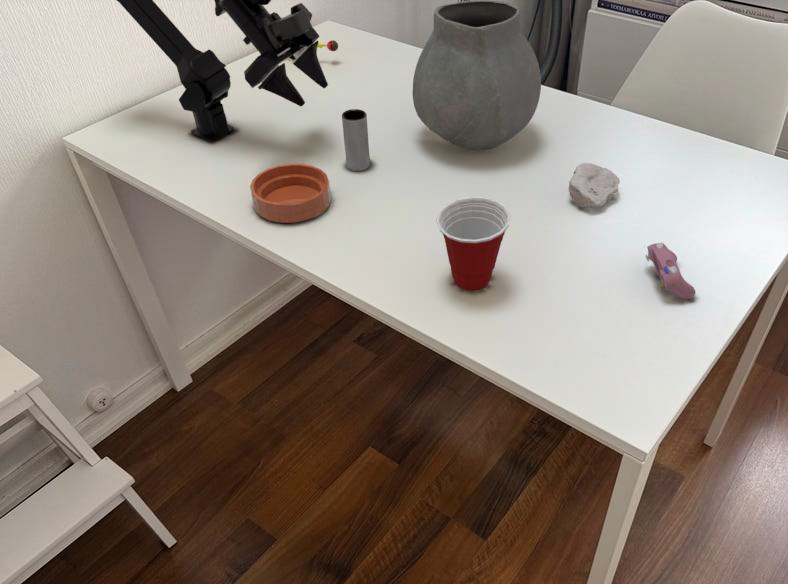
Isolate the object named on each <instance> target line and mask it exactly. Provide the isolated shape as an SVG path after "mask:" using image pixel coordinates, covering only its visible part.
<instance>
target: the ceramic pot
mask: <svg viewBox="0 0 788 584" xmlns="http://www.w3.org/2000/svg"><path fill="white" fill-rule="evenodd" d="M412 79H413V80H412V92H411V93H412V101H413V107H414V109H415V112H416V115H417V116H418V118H419V119H420V121H421V122H422V123H423V125H425V127H427V128H428V129H429V130H430V131H431V132H433V133H434V134H435V135H437V136H439V137H440V138H441V139H443V140H445V141H446V142H448V143H449V144H450V145H452V146H455V147H458V148H461V149H465V150H469V151H487V150H492V149H495V148H498V147H500V146H502V145H503V144H505V143H506V142H508V141H510V140H511V139H513V138H514V137H515V136H517V135H518V134H519V133H520V132H521V131H523V130H524V129H525V128H526V127H527V126H528V124H530V122H531V120H532V119H533V117H534V115H535V113H536V110H537V108H538V106H539V102H540V98H541V96H540V95H541V90H542V77H541V70H540V64H539V61H538V58H537V56H536V54H535V51H534V49H533V47H532V45H531V43H530V42H529V41H528V39H527V38H526V37H525V35H524V33H523V32H522V30H521V12H520V8H518V6H516V5H515V4H513V3H510V2H506V1H501V0H461V1H456V2H454V3H453V2H452V3H448V4H442V5H439V6H437V7H436V8H435V9H434V12H433V30H432V32H431V34H430V36H429V38H428V39H427V41H426V42H425V45H424V47H423V49H422V51H421V52H420V55H419V57H418V60H417V62H416V65H415V69H414V73H413V78H412Z"/></svg>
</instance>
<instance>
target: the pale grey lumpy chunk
mask: <svg viewBox="0 0 788 584" xmlns="http://www.w3.org/2000/svg"><path fill="white" fill-rule="evenodd" d="M568 182H569V183H568V194H569V196H570V198H571V200H572V201H573V202H574V203H575V204H576V205H578V206H580V207H582V208H589V209H590V208H599V207H603V206H604V205H606V203H607V202H609V201H610V200H612V199H613V198H614V194H616V193H618V191H619V184H620V182H621V180H620V178H619V177H618V175H616V174H615V173H614V172H613V171H612V170H610V169H608V168H607V167H602V166H600V165H596V164H595V163H591V162H583V163H580V164H578V165H577V166H576V167H575V170H574V171H573V175H572V177H571V179H570V180H569V181H568Z"/></svg>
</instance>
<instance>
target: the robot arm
mask: <svg viewBox="0 0 788 584" xmlns="http://www.w3.org/2000/svg"><path fill="white" fill-rule="evenodd" d="M116 1H117V3H119V4H120V5H121V7H123V8H124V10H125V11H126V12H127V13H128V14H129V15H130V16H131V17H132V19H133V20H134V21H135V22H136V23H137V24H138V25H139V27H140V28H142V30H143V31H144V32H145V33H146V34H147V35H148V36H149V38H150V39H151V40H152V41H153V42H154V43H155V44H156V45H157V46H158V48H159V49H160V50H161V51H162V52H163V53H164V54H165V55H166V56H167V58H169V60H170V61H171V62H172V64H174V65H175V67H176V70H177V73H178V78H179V82H180V83H181V85H182V86H183V88H184V89H185V90H184V91H183V93H182V94H181V96H180V97H179V98H178V101H179V104H180V105H181V107H182V109H183V111H187V112H191V113H192V115H193V120H194V123H195V126H196V127H195V128H194V129H191V130H190V132H191V134H192V135H194V136H196V137H199V138H201V139H203V140H205V141H208V142H211V143H212V142H215V141H218V140H219V139H221V138H223V137H225V136H227V135H229V134H231V133H233V132H235V127H234V126H231V125H229V124H228V120H227V114H226V113H225V108H224V105H223V103H222V101H223V100H224V99H226V98H228V96H229V90H230V88H231V84H232V83H231V75H230V73H229V71H228V70H227V69H226V67H227V65H226V64H225V63H223V62H222V61H221V60H220V59H219V57H218V56H217V55H216V53H215V52H214V51H213V50H211V49H210V48H209V49H207V50H205V51H201V50H200V49H197V48H196V47H194V45H193V44H192V43H191V42H190V41H189V40H188V39H187V37H185V35H184V34H183V33H182V32H181V31H180V30H179V28H178V27H177V26H176V25H175V24H174V22H173V21H172V20H171V19H170V18H169V17H168V16H167V14H165V12H164V11H163V10H162V9H161V8H160V7H159V6H158V5H157V3H156V2H155V1H154V0H116ZM213 1H214V5H215V6H214V14H215V16H216V17H220V16H223V14H227V15H228V16H229V18H230V19H231V20H232V21H233V22H234V24H235V25H236V26H237V28H239V30H240V31H241V32H242V33H243V35H244V36H245V37H244V38H243V39H242V41H243V42H244V44H245V45H246V46H248V45H250V44H252V45H253V47H254V48H255V49H256V50H257V52H258V53H259V55H258V56H257V57H256V58H255V59H254V60H253V61H252V63H250V65H249V66H248V67H247V68H246V69H245V70H244V71H243V74H244V75H243V76H244V80H245V82H247V84H248V85H249V86H250V87H251V89H254V88H255V87H257V88H258V89H259V90H264V91H266V92H269V93H271V94H274V95H276V96H278V97H281V98H282V99H285V100H287V101H289V102H291V103H292V104H294V105H297V106H299V107H303V106H304V105H305V104H306V101H305V99H304V98H303V96H302V95H301V93H300V92H299V91H298V89H297V88H296V87H295V85H294V84H293V82H292V81H291V79H290V78H289V77H288V75H287V69H286V64H285V62H284V61H286V60H287V59H289V60H291V61H293V63H292V64H293V66H295V67H296V68H297V69H299V70H300V71H301V72H302V73H303V74H304V75H306V76H307V77H308V78H309V79H310V80H312V81H313V82H314V83H315V84H317V85H318V86H319V87H321V89H322V88H323V89H326V88H327V87H328V86H329V84H328V81H327V78H326V76H325V73H324V71H323V68H322V66H321V64H320V61H319V58H318V53H317V52H318V47H317V45H318V44H319V43H320V42H319V40H318V39H319V38H320V34H319V33H318V32H317V30H315V28H314V27H313V25H312V22H311V21H312V18H313V13H312V12H311V11H310V10H309V9H308V8H307V7H306V6H305V5H304V4H303V2H299V3H297V4H295V5H293V6H291V7H290V14H288V15H286V16H284V17H281V15H279V14H278V12H275V11H274V12H272V13H270V12H269V11H268V10H267V8H266V7H265V6H267V5H269V4H270V3H271V2H272V0H213ZM314 42H315V43H314Z"/></svg>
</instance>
